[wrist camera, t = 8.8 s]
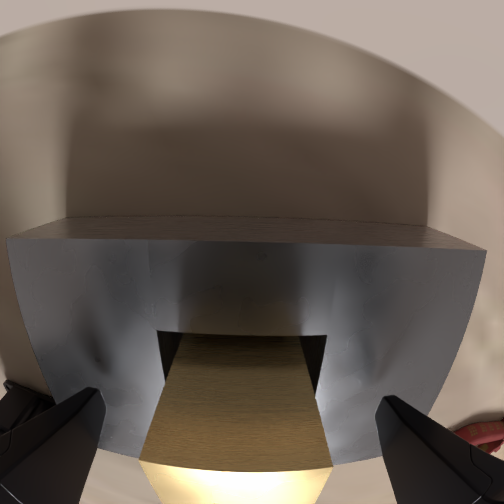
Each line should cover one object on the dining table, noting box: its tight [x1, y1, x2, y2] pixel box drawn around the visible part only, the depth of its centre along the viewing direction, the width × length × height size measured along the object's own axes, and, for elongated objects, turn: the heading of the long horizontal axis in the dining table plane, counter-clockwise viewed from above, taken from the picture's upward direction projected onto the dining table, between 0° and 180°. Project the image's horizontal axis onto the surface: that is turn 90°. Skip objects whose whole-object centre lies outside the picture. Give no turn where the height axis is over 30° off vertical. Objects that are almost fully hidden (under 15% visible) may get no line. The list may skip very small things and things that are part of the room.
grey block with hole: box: [6, 216, 487, 465], centre depth 10 cm, size 10×16×4 cm, turn 88°
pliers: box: [453, 418, 504, 454], centre depth 16 cm, size 12×20×3 cm, turn 97°
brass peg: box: [139, 332, 333, 504], centre depth 8 cm, size 4×4×8 cm
